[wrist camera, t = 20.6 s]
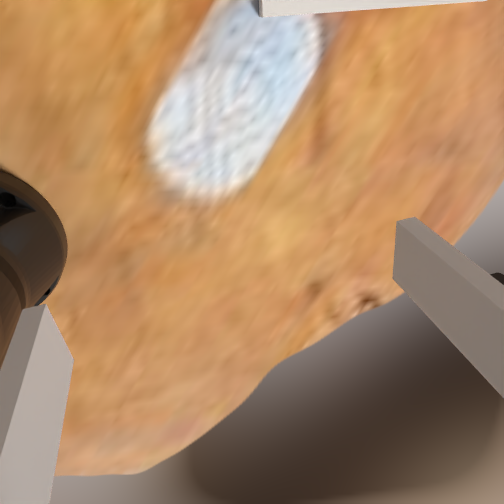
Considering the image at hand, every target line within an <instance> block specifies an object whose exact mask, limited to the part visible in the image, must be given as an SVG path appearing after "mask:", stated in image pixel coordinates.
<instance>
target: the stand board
mask: <svg viewBox="0 0 504 504" xmlns="http://www.w3.org/2000/svg"><path fill="white" fill-rule="evenodd" d="M476 1H487V0H259V17H274V16H287V15H301V14H314V13H328V12H341V11H355V10H368V9H382V8H395V7H409V6H422V5H436V4H449V3H463V2H476Z"/></svg>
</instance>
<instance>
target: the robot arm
mask: <svg viewBox="0 0 504 504" xmlns="http://www.w3.org/2000/svg"><path fill="white" fill-rule="evenodd" d="M66 258H67V239H66V234H65V230H64V228H63V225H62V223H61V221H60V219H59V217H58V215H57V214H56V212H55V211H54V209H53V208H52V207H51V205H50V204H49V203H48V202H47V201H46V200H45V199H44V198H43V197H42V196H41V195H40V194H39V193H38V192H37V191H35V190H34V189H33V188H31V187H30V186H29V185H27V184H26V183H24V182H22V181H21V180H19V179H17V178H15V177H13V176H11V175H9V174H7V173H4V172H2V171H0V504H49V502H50V496H51V490H52V484H53V478H54V473H55V467H56V461H57V455H58V450H59V444H60V438H61V432H62V426H63V420H64V415H65V409H66V403H67V397H68V391H69V386H70V380H71V374H72V368H73V362H74V359H73V357H72V355H71V353H70V351H69V349H68V347H67V345H66V343H65V341H64V339H63V337H62V335H61V333H60V331H59V329H58V327H57V325H56V323H55V321H54V319H53V317H52V315H51V313H50V311H49V309H48V307H47V305H46V304H43V305H39V304H40V303H42V302H43V301H44V300H45V299H46V298H47V297H48V296H49V295H50V294H51V293H52V291H53V290H54V288H55V287H56V285H57V284H58V282H59V280H60V277H61V275H62V272H63V269H64V266H65V263H66ZM393 280H394V281H395V282H396V283H397V284H398V285H399V286H400V287H401V288H402V289H403V290H404V291H405V292H406V294H407V295H408V296H409V297H410V298H411V299H412V300H413V301H414V302H415V303H416V304H417V305H418V306H419V307H420V309H421V310H422V311H423V312H424V313H425V314H426V315H427V316H428V317H429V318H430V319H431V320H432V321H433V323H434V324H435V325H436V326H437V327H438V328H439V329H440V330H441V331H442V332H443V333H444V334H445V335H446V336H447V338H448V339H449V340H450V341H451V342H452V343H453V344H454V345H455V346H456V347H457V348H458V349H459V351H460V352H461V353H462V354H463V355H464V356H465V357H466V358H467V359H468V360H469V361H470V362H471V363H472V364H473V366H474V367H475V368H476V369H477V370H478V371H479V372H480V373H481V374H482V375H483V376H484V377H485V378H486V380H487V381H488V382H489V383H490V384H491V385H492V386H493V387H494V388H495V389H496V390H497V391H498V392H499V394H500V395H501V396H502V397H503V398H504V275H503V274H501V273H495V274H491V275H490V274H488V273H487V272H486V271H484V270H483V269H482V268H481V267H479V266H478V265H477V264H475V263H474V262H473V261H472V260H470V259H469V258H468V257H466V256H465V255H463V254H462V253H461V252H460V251H458V250H457V249H456V248H455V247H453V246H452V245H451V244H449V243H448V242H447V241H446V240H444V239H443V238H442V237H440V236H439V235H438V234H436V233H435V232H434V231H433V230H431V229H430V228H429V227H427V226H426V225H425V224H423V223H422V222H421V221H420V220H418V219H417V218H416V217H412V218H408V219H404V220H400V221H397V224H396V238H395V251H394V265H393ZM38 305H39V306H38Z"/></svg>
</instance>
